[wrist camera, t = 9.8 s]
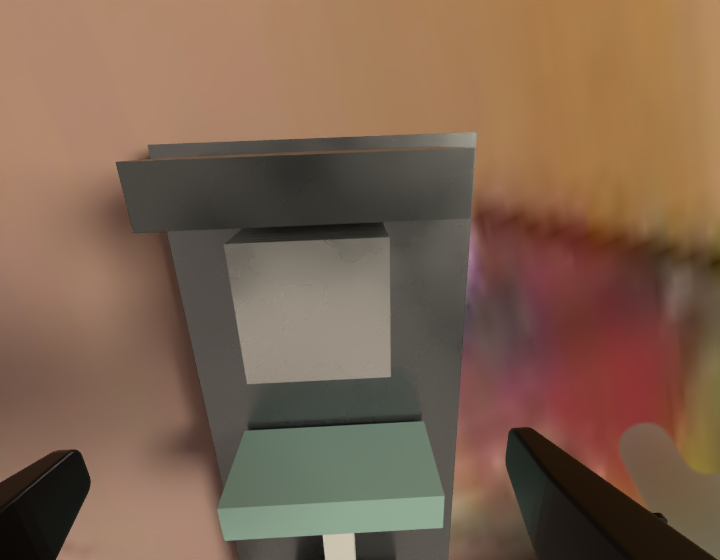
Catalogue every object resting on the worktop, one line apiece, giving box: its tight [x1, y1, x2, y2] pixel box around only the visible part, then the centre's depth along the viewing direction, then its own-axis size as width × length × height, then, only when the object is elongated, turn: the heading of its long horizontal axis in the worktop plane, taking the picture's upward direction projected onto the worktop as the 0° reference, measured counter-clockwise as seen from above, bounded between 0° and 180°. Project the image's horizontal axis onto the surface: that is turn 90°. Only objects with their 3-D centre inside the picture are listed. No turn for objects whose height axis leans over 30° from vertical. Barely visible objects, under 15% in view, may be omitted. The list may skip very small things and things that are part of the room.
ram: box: [217, 421, 445, 560], centre depth 21 cm, size 10×14×5 cm
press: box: [116, 132, 477, 560], centre depth 19 cm, size 14×29×8 cm, turn 2°
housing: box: [224, 222, 391, 384], centre depth 15 cm, size 5×5×6 cm
